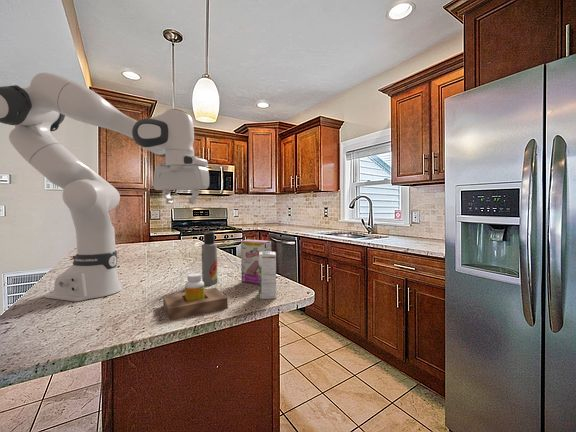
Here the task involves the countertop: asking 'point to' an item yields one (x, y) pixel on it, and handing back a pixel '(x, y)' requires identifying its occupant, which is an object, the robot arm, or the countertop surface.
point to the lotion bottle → (209, 259)
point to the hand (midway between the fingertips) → (180, 203)
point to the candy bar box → (252, 258)
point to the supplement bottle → (194, 287)
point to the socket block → (194, 304)
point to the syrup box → (267, 275)
